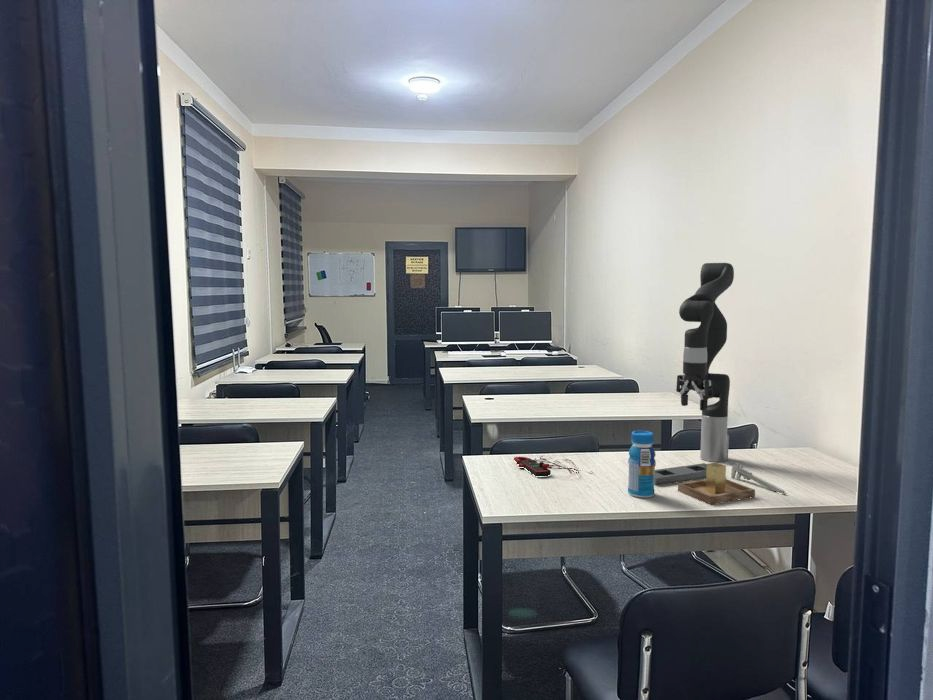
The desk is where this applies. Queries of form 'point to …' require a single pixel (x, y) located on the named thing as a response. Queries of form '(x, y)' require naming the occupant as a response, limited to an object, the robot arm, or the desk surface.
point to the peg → (715, 477)
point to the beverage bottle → (641, 465)
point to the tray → (731, 493)
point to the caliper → (749, 476)
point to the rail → (680, 474)
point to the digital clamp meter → (538, 466)
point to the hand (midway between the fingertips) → (693, 407)
